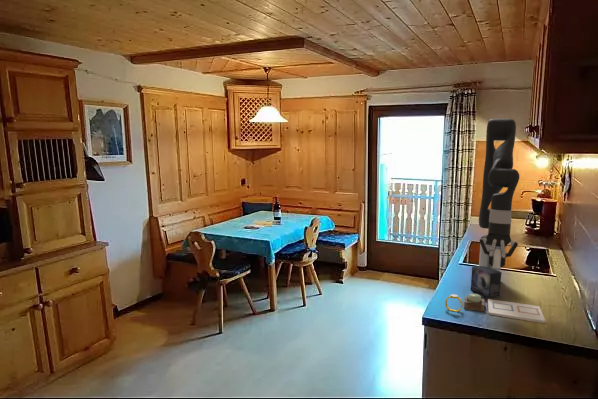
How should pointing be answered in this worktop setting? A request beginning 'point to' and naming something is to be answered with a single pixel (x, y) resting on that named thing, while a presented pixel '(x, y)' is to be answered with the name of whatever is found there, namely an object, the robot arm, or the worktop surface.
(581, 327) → the worktop surface
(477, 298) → the button
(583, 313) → the worktop surface
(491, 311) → the colouring board
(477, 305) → the button housing
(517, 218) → the worktop surface
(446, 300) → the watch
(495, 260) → the marker
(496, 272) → the small box
